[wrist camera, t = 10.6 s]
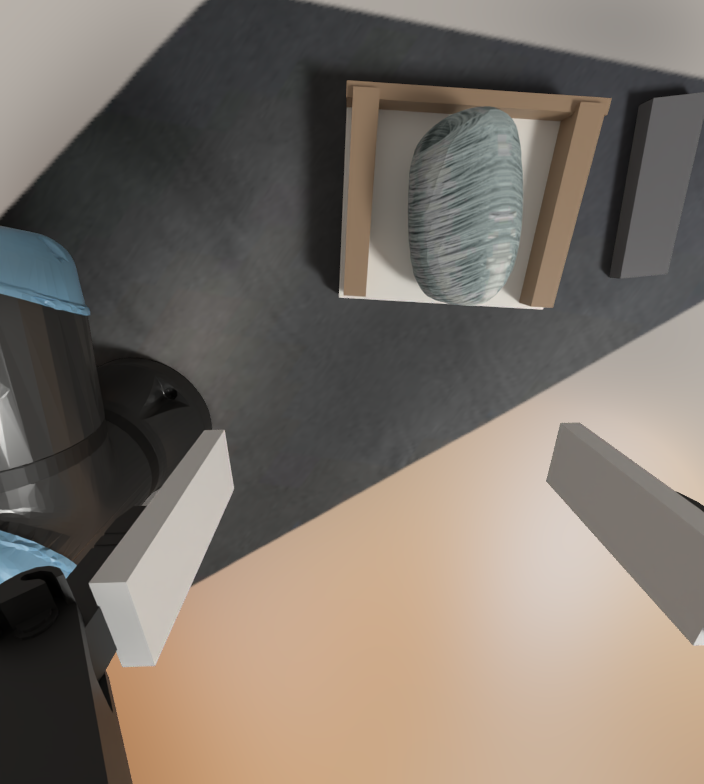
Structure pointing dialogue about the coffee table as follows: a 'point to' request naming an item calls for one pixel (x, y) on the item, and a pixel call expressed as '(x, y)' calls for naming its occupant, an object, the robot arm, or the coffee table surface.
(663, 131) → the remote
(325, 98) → the coffee table surface
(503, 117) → the grey streaked oval piece
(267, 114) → the coffee table surface
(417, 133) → the shelf bay
